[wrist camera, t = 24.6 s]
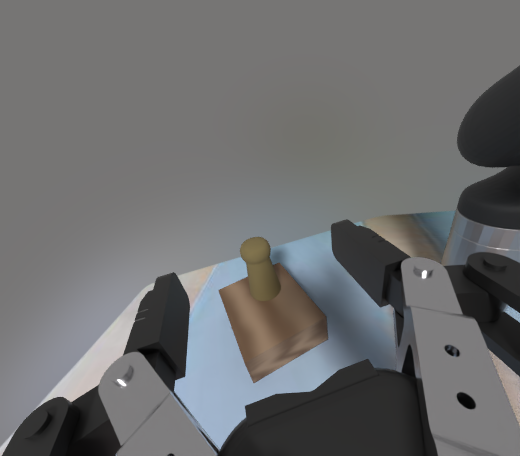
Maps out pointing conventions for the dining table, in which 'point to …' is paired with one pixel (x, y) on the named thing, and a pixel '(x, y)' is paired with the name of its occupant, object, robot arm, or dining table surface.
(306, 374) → the dining table surface
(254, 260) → the cork
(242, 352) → the walnut block
